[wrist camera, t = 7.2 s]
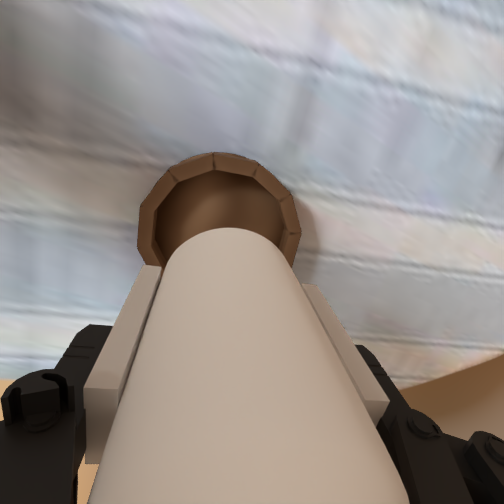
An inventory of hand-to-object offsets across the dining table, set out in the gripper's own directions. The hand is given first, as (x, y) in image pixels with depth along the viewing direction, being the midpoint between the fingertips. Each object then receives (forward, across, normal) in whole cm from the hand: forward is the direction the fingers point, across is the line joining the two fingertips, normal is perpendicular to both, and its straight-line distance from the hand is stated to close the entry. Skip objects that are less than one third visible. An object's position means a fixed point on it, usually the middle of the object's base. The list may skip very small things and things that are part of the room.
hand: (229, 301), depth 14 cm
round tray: (+17, 0, -2) cm, 17 cm away
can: (+2, 0, 0) cm, 2 cm away
